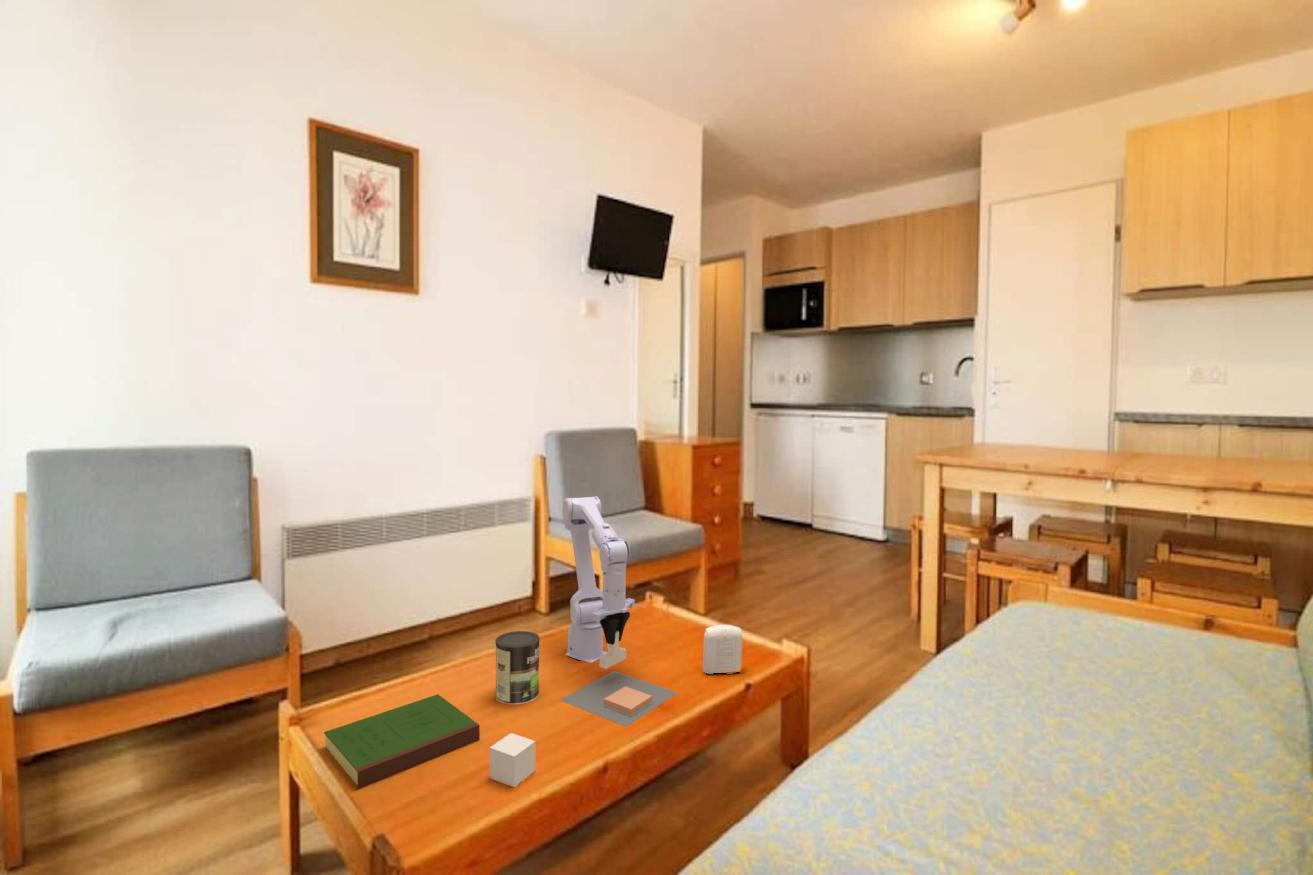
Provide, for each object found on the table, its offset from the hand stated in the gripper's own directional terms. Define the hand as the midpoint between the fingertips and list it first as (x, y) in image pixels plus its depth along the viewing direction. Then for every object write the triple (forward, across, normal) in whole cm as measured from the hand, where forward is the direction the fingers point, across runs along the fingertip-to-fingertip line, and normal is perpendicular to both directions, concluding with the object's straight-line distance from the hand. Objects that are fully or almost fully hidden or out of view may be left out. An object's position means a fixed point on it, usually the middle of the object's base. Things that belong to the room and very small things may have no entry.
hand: (613, 641), depth 160 cm
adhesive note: (+10, -42, -10) cm, 44 cm away
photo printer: (+10, +22, -19) cm, 31 cm away
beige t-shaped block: (+5, 0, 0) cm, 5 cm away
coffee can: (+10, -20, +13) cm, 26 cm away
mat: (+10, -6, -7) cm, 14 cm away
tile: (+9, -8, -7) cm, 14 cm away
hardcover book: (+11, -48, +16) cm, 52 cm away
